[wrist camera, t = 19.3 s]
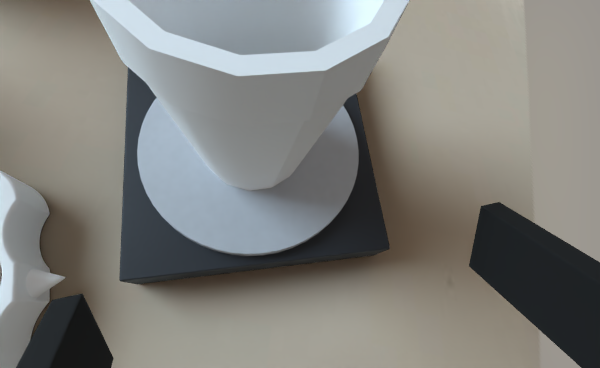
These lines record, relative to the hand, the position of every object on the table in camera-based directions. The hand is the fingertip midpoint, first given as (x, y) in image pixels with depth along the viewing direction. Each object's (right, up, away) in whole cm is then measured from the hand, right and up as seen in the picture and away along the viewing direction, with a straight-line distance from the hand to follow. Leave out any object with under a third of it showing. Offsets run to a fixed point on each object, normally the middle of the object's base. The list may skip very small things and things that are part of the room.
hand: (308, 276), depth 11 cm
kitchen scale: (-4, +6, +14) cm, 16 cm away
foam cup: (-3, +6, +11) cm, 12 cm away
